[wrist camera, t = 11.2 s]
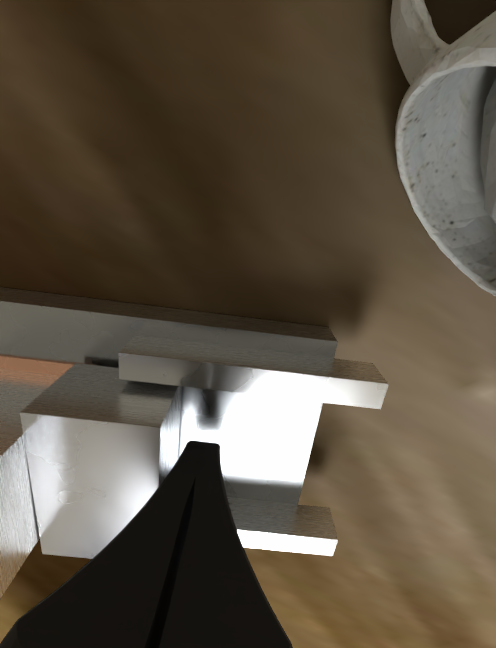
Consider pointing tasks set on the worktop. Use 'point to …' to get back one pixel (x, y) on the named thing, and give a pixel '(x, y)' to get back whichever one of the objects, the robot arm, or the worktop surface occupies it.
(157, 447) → the block
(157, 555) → the robot arm
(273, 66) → the worktop surface
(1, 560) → the white rectangular block
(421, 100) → the ceramic mug
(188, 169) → the worktop surface
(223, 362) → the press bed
